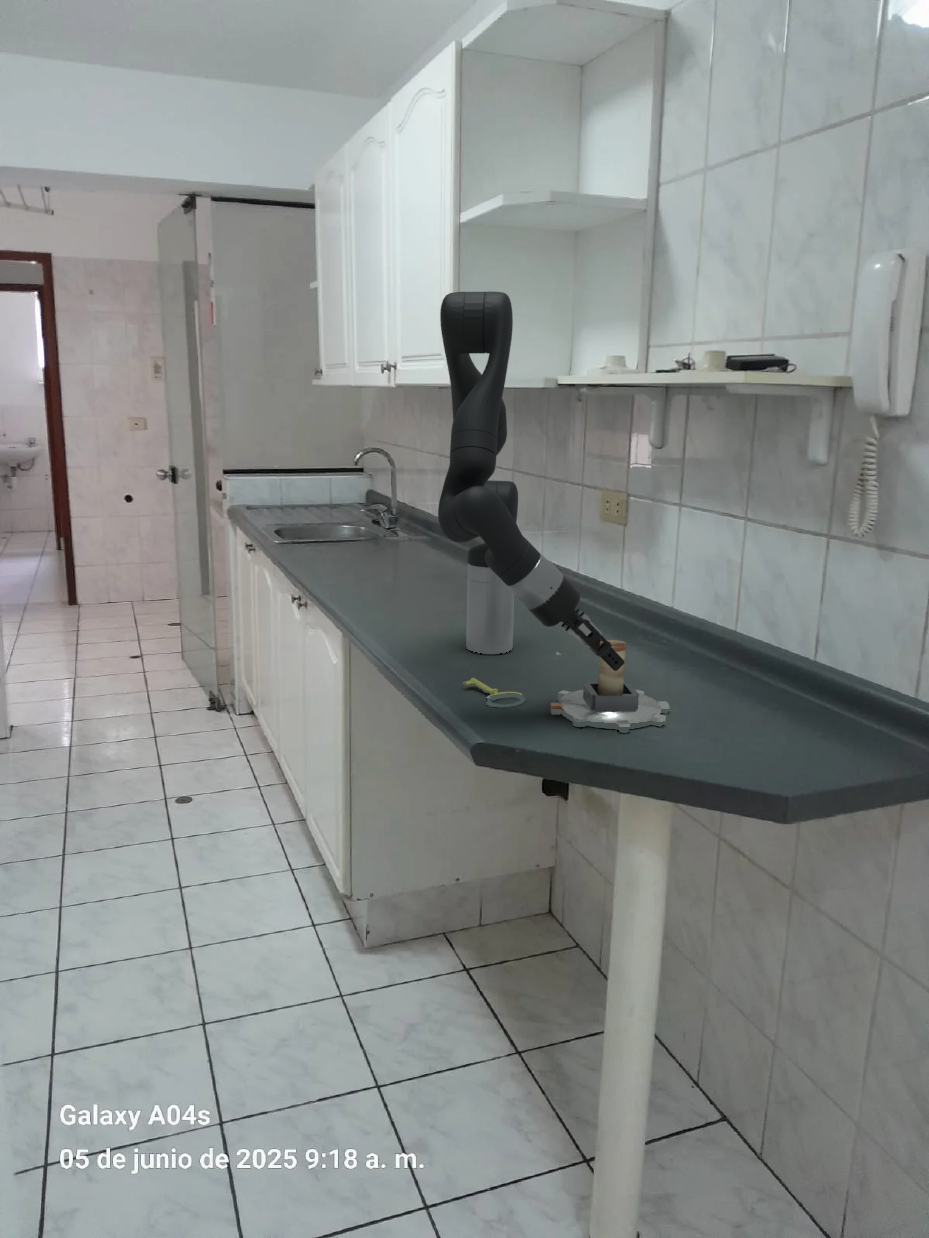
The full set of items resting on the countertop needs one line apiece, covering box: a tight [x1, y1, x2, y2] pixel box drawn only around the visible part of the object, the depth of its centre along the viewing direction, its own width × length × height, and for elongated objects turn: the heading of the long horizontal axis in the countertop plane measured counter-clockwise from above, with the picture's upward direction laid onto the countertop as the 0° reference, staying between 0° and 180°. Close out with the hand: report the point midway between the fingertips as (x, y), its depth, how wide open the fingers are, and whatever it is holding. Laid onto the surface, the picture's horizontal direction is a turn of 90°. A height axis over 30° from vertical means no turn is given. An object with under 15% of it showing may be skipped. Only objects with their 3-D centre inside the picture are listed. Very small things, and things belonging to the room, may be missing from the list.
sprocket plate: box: [549, 680, 670, 727], centre depth 151 cm, size 19×19×4 cm
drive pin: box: [597, 639, 627, 694], centre depth 150 cm, size 4×4×10 cm
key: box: [462, 677, 523, 698], centre depth 158 cm, size 7×12×2 cm, turn 53°
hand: (610, 659), depth 150 cm, fingers open, 8 cm apart
